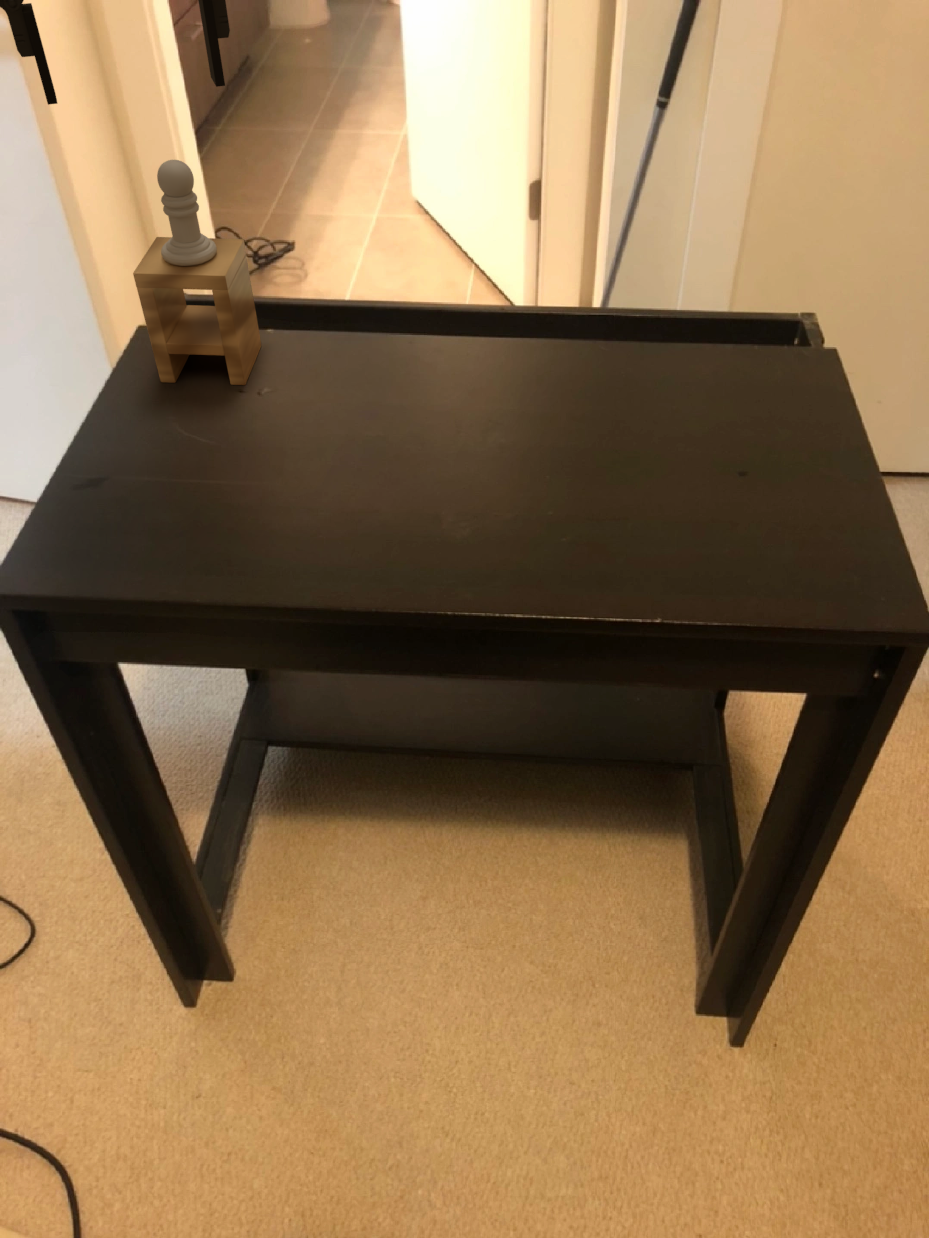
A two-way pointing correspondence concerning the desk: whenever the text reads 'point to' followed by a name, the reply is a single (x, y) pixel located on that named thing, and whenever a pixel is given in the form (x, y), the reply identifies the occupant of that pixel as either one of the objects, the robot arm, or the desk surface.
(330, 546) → the desk surface
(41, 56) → the robot arm
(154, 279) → the shelf
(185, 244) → the chess piece
